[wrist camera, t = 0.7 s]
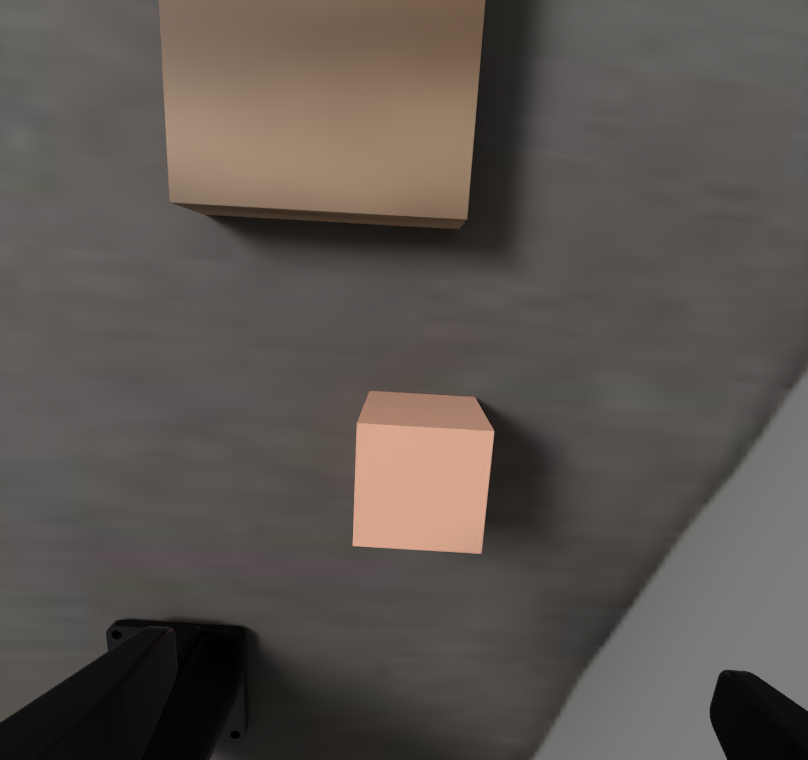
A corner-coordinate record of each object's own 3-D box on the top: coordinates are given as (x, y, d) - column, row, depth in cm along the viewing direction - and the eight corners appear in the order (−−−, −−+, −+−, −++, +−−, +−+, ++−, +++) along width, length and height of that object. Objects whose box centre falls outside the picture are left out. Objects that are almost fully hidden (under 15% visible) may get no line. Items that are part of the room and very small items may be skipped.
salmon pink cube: (465, 493, 20) (481, 553, 15) (366, 487, 20) (352, 545, 15) (474, 396, 19) (494, 431, 14) (369, 390, 19) (356, 423, 14)
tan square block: (457, 230, 17) (466, 219, 15) (210, 216, 17) (169, 202, 15) (481, -66, 15) (497, -149, 12) (199, -82, 15) (149, -169, 12)
